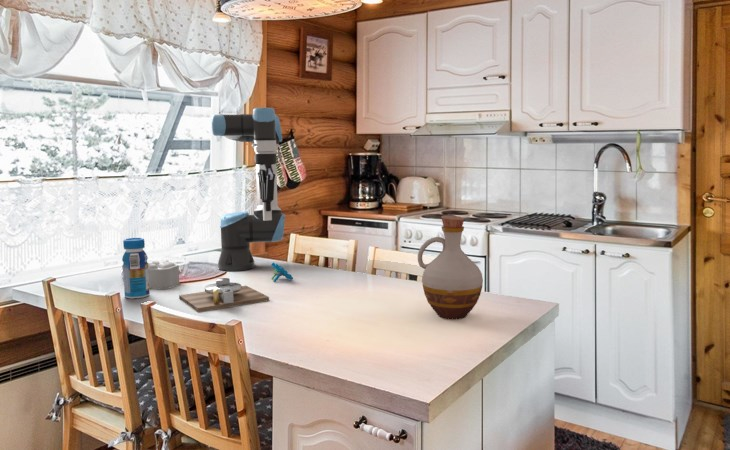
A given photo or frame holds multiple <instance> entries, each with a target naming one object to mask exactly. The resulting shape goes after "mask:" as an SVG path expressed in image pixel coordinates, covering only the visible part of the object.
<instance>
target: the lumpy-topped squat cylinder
mask: <svg viewBox="0 0 730 450" xmlns="http://www.w3.org/2000/svg"><path fill="white" fill-rule="evenodd" d="M147 263H148V265H149V267H148V273H149V289H159V290H163V289H164V290H165V289H171V288H173V287H176V286H179V285H180V268H179V267H180V266H179V264H177V263H174V262H172V261H169V260H162V261H161V262H159V261H157V260H155V261H151V262H147Z"/></svg>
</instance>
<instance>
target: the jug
mask: <svg viewBox="0 0 730 450" xmlns="http://www.w3.org/2000/svg"><path fill="white" fill-rule="evenodd" d="M440 218H441V222H442V226H441V231H442V232H443V236H444V238H443V237H442V236H441V237H440V236H435V237H431V238H429V239H427V240H426V241H424V243H423V244H421V247H420V248H419V250H418V252H417V262H418V265H419V267H420V268H422V269H424V270H423V272H422V278H421V282H422V283H421V284H422V288H423V292H424V296H425V298H426V301H427V303H428V304H429V305H430V307H431V309H432V311H434V313H436V315H438V317H439V318H441V319H444V320H451V321H453V320H454V321H455V320H463V319H465V318H466V317H467V316H468V315H469V314H470V313H471V311H472V310H473V309H474V308H475V306H476V305H477V303H478V301H479V298H480V296H481V293H482V289H483V283H484V278H483V274H482V273H483V272H481V270H480V267H479V266H478V265H477V264H476V263H475V262H474V261H473V260H472V259H471V258H469V256H468V255H467V254H466V253H465V252H464V250H462V246H461V244H462V243H461V241H462V234H463V232H464V229H465V226H463V225H464V221H465V217H462V216H457V215H441V217H440ZM433 243H440V244H442V251H441V252H440V253H439V254H438V255H437V256H436V257H435V258H434V259H433V260H431V261H430V262H428V263H424V260H423V254H424V253H425V251H426V249H427V248H428V247H429V246H430V245H431V244H433Z"/></svg>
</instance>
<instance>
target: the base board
mask: <svg viewBox="0 0 730 450" xmlns="http://www.w3.org/2000/svg"><path fill="white" fill-rule="evenodd" d="M241 286H242V289H241V290H240V291H238V292H235V293H233V298H234V303H225V304H224V303H223V301H222V299H221V297H220V294H219V304H217V305H215V304H214V298H213V294H209V293H206V292H205V291H198V292H193V293H192V292H191V293H185V294H178V296H179V297H178V299H179V300H180V301H182V302H183V303H184V304H185V305H188V306H189V307H190V308H191V309H193V310H194V311H196V312H197V313H200V312H207V311H212V310H217V309H224V308H231V307H236V306H238V307H239V306H242V305H248V304H255V303H256V304H257V303H261V302H268V301H270V297H269V296H268V295H265V294H264V293H262V292H260V291H257V290H256V289H253V288H252V287H250V286H248V285H241Z"/></svg>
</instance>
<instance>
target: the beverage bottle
mask: <svg viewBox="0 0 730 450" xmlns="http://www.w3.org/2000/svg"><path fill="white" fill-rule="evenodd" d="M122 242H123V250H125V251H124V252H123V255H122V260H121V261H122V266H121V267H122V276H123V278H122V279H123V287H124V290H123V291H124V298H127V299H132V300H133V299H134V298H137V299H144V298H146V297H148V296H150V293H151V290H150V288H149V273H148V267H149V265H148V263H149V262H148V255H147V253H146V252H145V250H144V249H145V245H146V244H145V243H146V242H145V239H144V237H131V238H130V237H128V238H125V239H123V241H122ZM134 300H135V299H134Z"/></svg>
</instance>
